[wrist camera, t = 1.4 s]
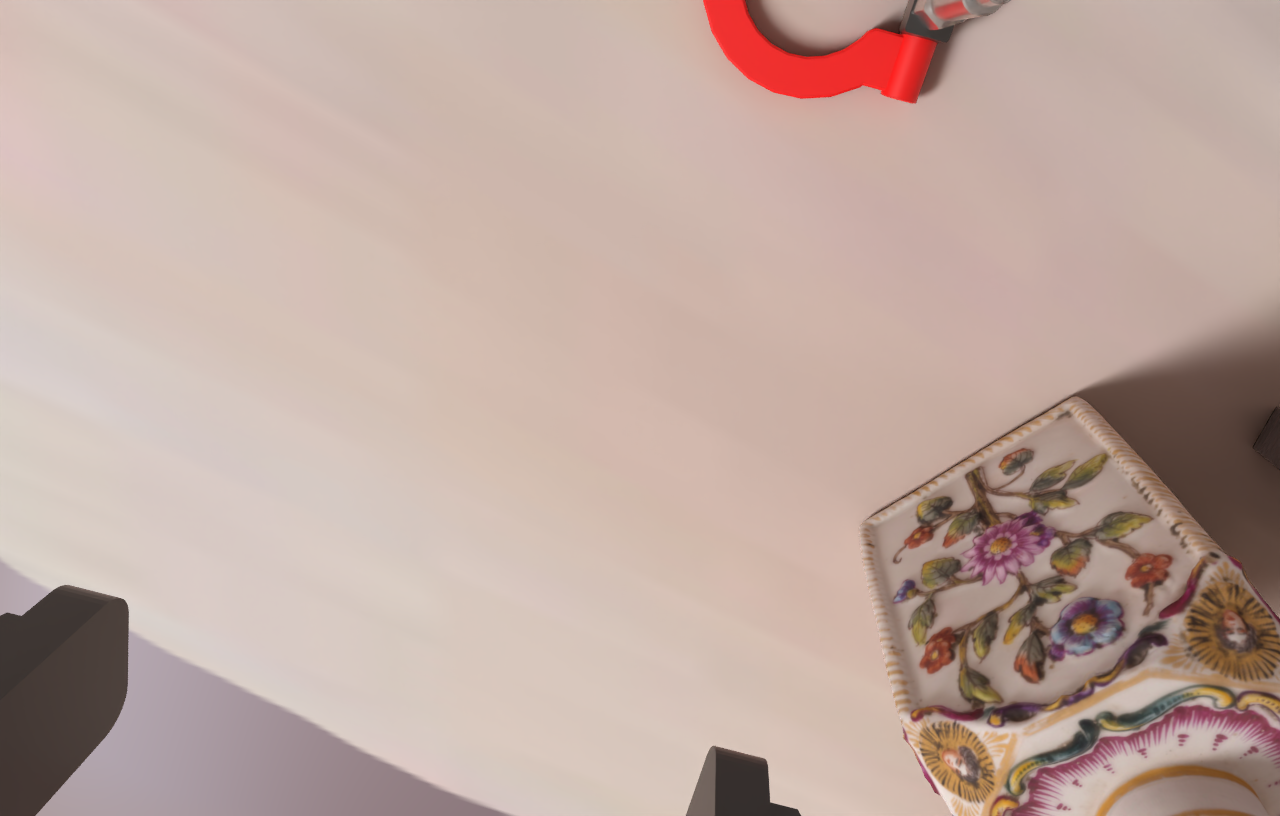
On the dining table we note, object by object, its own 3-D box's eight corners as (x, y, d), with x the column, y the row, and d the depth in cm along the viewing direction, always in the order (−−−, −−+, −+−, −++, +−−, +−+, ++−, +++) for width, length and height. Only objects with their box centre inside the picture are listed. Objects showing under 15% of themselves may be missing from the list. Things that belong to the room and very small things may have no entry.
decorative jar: (1079, 383, 39) (1331, 647, 22) (1208, 573, 41) (1516, 932, 25) (844, 524, 42) (909, 840, 26) (976, 689, 45) (1111, 1069, 29)
